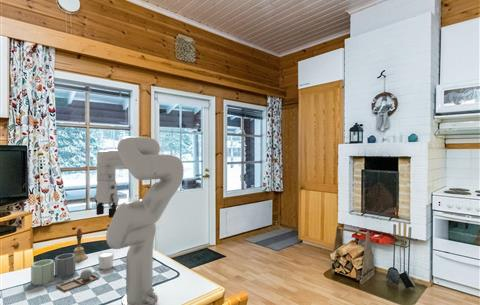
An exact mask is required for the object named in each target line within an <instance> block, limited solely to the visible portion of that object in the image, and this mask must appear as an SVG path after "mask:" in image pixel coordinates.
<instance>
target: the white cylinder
mask: <svg viewBox="0 0 480 305" xmlns="http://www.w3.org/2000/svg"><path fill="white" fill-rule="evenodd" d="M98 265H99V266H98V267H99V269H100V270H108V269H110V268H112V267H113V265H114V252H112V251H107V252H102V253H99V254H98Z"/></svg>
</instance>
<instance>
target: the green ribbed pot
mask: <svg viewBox="0 0 480 305" xmlns="http://www.w3.org/2000/svg"><path fill="white" fill-rule="evenodd" d="M54 279H55V259H42V260H38V261H34V262H33V263H32V264H31V265H30V283H31V284H32V285H34V286H36V285H37V286H38V285H43V284H47V283H50V282H52V281H53V280H54Z"/></svg>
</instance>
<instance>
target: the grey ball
mask: <svg viewBox="0 0 480 305" xmlns="http://www.w3.org/2000/svg"><path fill="white" fill-rule="evenodd" d="M92 274H93V272H92V270H91V269H89V268H88V269H87V268H85V269H83V270H82V271H81V273H80V277H81V279H82V280H88V279H89V278H90V277H91V276H92Z"/></svg>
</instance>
